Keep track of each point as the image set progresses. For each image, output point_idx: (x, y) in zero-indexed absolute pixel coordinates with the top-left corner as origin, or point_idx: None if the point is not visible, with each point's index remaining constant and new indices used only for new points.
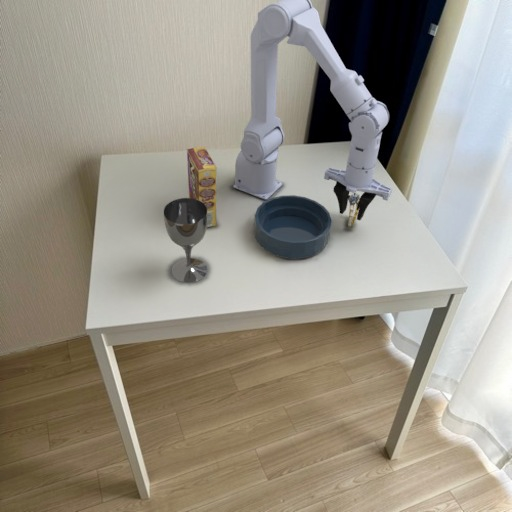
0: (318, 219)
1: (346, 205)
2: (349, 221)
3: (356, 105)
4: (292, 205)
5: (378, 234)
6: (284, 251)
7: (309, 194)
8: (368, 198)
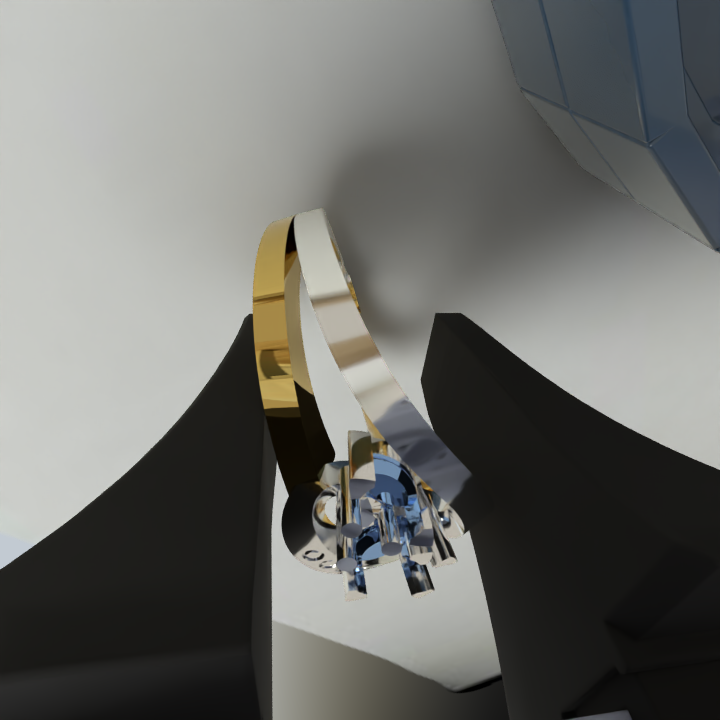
0: (688, 80)
1: (435, 411)
2: (323, 215)
3: None
4: None
5: (70, 294)
6: None
7: (658, 408)
8: (36, 710)
